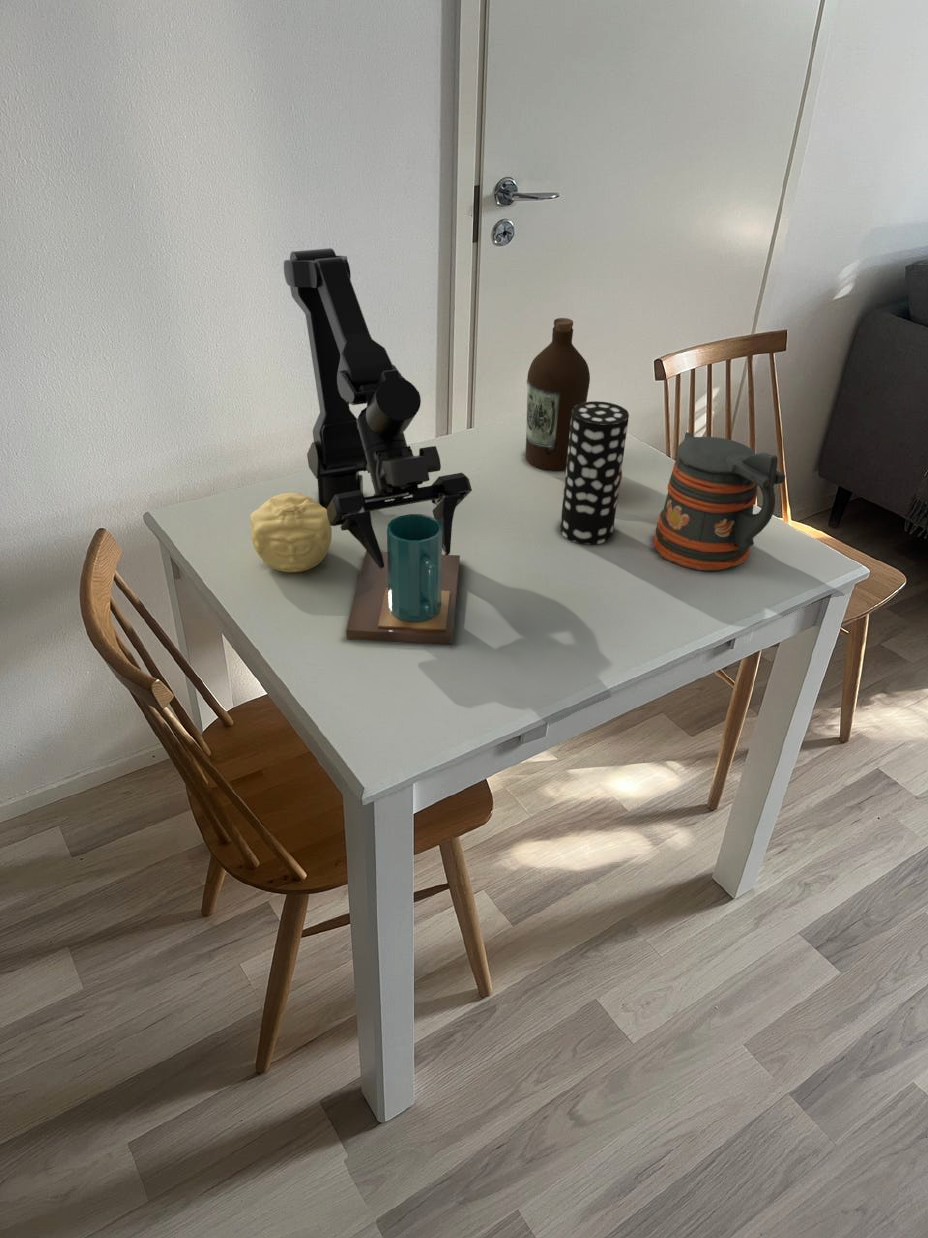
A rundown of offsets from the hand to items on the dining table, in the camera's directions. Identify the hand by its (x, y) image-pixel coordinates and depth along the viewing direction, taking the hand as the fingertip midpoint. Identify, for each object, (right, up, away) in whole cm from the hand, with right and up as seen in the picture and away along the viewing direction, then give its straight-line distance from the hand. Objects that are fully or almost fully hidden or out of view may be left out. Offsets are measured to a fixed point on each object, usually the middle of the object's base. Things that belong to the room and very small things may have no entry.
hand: (415, 561), depth 127 cm
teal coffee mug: (0, -7, +3) cm, 8 cm away
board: (-2, -5, +9) cm, 11 cm away
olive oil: (+22, +21, +47) cm, 56 cm away
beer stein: (+44, +2, +22) cm, 49 cm away
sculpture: (-19, +1, +17) cm, 25 cm away
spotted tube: (+26, +6, +26) cm, 37 cm away
